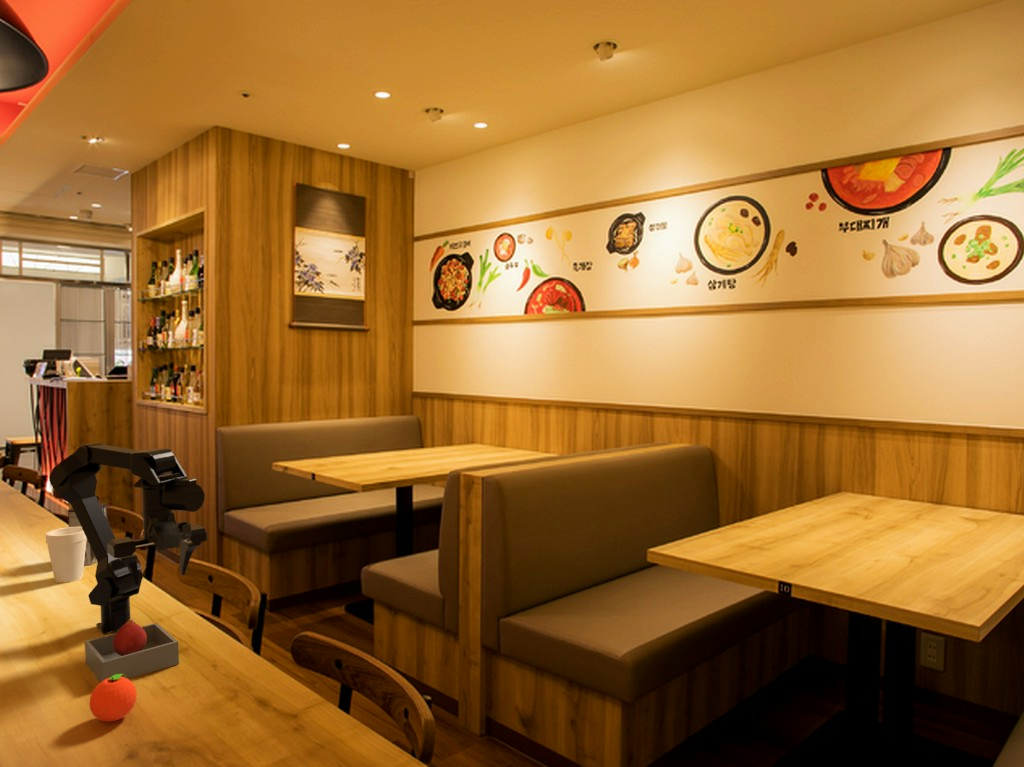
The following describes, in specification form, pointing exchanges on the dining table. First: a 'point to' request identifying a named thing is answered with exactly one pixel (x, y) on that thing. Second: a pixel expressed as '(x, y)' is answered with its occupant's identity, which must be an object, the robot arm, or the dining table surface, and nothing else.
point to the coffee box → (89, 553)
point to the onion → (129, 639)
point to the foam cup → (67, 553)
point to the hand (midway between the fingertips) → (160, 579)
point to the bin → (132, 655)
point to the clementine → (113, 698)
